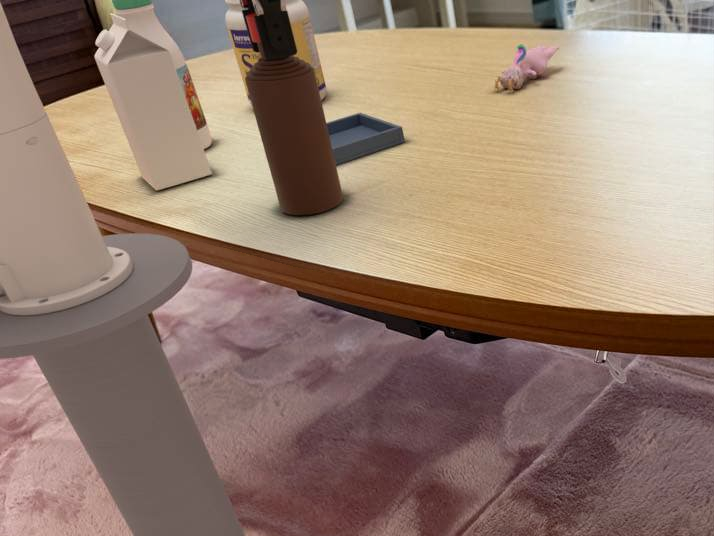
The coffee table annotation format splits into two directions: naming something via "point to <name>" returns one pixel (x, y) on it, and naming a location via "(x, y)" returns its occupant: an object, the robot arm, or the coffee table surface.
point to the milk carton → (150, 106)
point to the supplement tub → (300, 32)
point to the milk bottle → (141, 19)
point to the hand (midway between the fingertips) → (274, 51)
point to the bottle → (294, 134)
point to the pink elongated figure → (526, 66)
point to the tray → (361, 136)
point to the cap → (253, 27)
